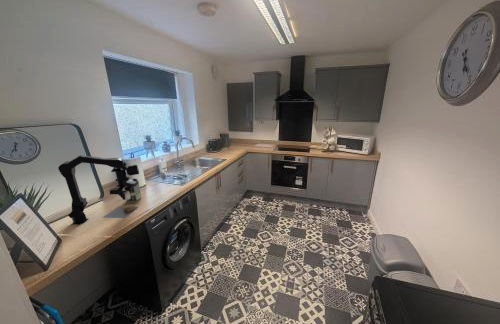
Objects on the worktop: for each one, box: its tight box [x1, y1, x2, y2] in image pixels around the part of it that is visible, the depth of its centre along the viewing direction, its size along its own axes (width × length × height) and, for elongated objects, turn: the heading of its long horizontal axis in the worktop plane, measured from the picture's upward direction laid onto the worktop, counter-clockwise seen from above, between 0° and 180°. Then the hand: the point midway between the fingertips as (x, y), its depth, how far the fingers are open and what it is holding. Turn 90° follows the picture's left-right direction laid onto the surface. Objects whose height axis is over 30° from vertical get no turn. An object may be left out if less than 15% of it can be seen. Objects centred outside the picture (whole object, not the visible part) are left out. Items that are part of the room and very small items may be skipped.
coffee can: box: [124, 181, 142, 203], centre depth 147 cm, size 10×10×14 cm
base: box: [122, 203, 137, 212], centre depth 133 cm, size 7×7×2 cm
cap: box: [124, 190, 131, 201], centre depth 129 cm, size 4×4×6 cm
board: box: [102, 206, 139, 219], centre depth 131 cm, size 16×14×1 cm
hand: (126, 197), depth 130 cm, fingers closed on cap, 4 cm apart
